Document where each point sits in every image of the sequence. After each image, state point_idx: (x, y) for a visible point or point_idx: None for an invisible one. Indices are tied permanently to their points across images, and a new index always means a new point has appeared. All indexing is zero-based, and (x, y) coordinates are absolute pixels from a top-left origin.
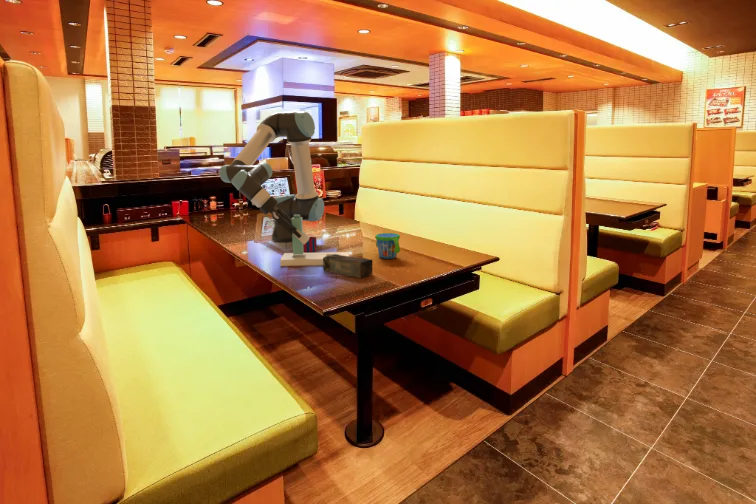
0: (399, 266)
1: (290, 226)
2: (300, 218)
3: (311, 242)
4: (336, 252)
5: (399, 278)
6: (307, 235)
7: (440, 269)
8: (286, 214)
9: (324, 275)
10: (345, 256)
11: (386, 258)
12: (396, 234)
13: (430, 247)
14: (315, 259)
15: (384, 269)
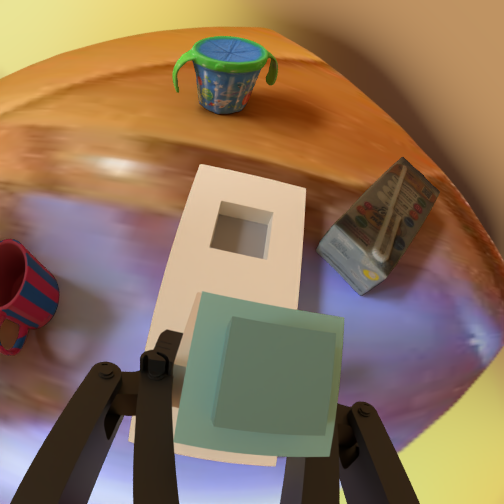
0: (317, 114)
1: (386, 439)
2: (330, 329)
3: (36, 275)
4: (191, 203)
5: (405, 153)
6: (198, 303)
7: (341, 84)
8: (27, 491)
9: (399, 297)
10: (371, 200)
11: (243, 107)
12: (224, 38)
13: (163, 43)
14: (296, 308)
15: (343, 145)
